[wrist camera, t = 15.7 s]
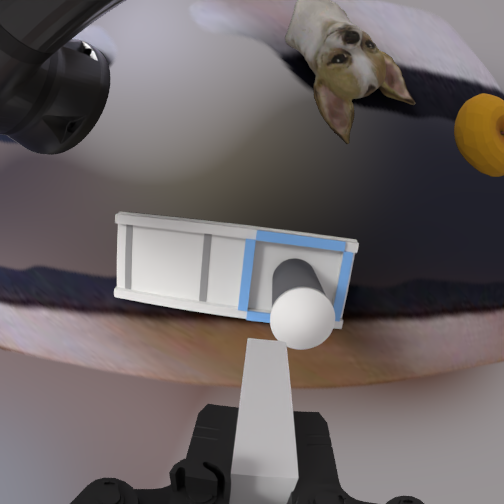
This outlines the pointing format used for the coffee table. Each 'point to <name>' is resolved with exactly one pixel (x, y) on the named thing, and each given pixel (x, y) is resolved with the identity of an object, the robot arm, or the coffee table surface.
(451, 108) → the coffee table surface
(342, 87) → the ceramic sculpture
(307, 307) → the grey and white cylinder
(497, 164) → the apple
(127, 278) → the white divided tray
